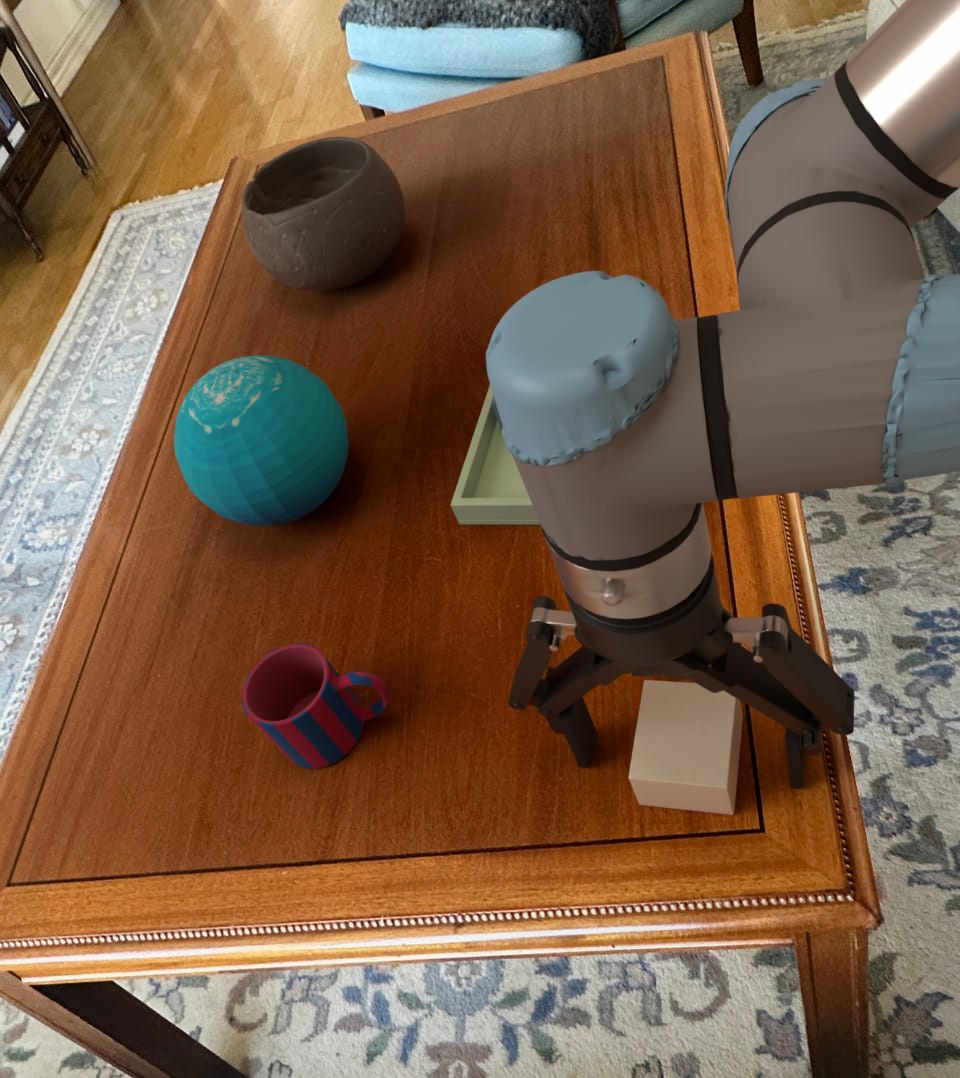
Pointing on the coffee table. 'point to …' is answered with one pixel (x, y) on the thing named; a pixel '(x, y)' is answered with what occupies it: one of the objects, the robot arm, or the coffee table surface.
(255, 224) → the bowl
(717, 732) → the beige block
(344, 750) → the mug
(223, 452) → the decorative orb
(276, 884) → the coffee table surface
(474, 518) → the tray
